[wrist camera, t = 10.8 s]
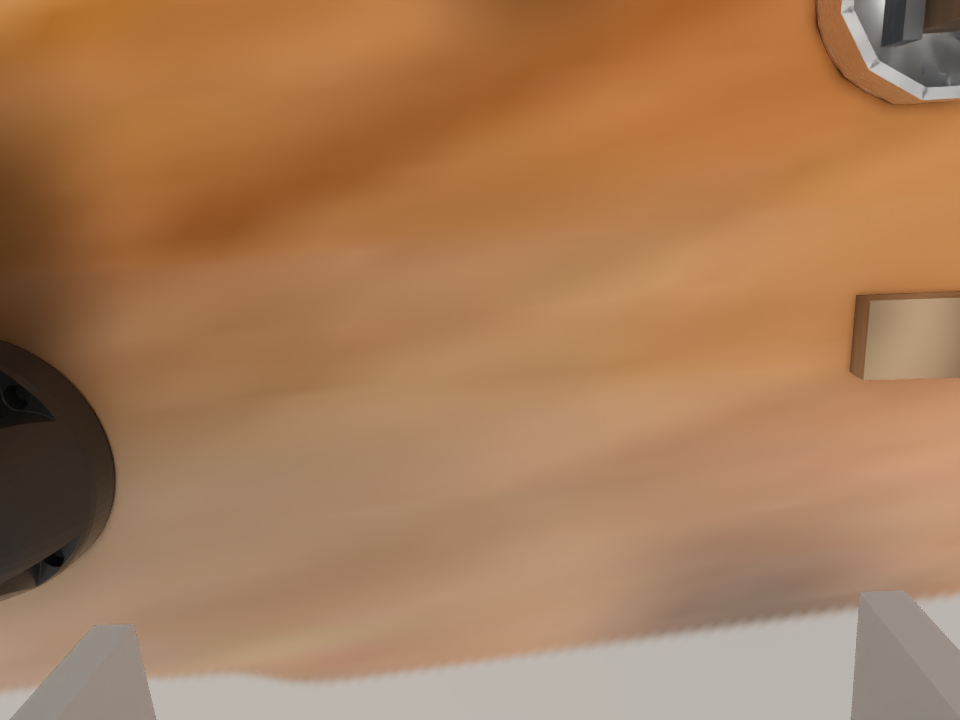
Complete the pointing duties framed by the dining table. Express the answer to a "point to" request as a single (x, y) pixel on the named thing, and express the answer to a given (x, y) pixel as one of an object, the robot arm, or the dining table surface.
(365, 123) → the dining table surface
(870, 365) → the tan rectangular slab
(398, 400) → the dining table surface
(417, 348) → the dining table surface
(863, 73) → the tin
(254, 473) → the dining table surface
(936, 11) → the brown elongated block
